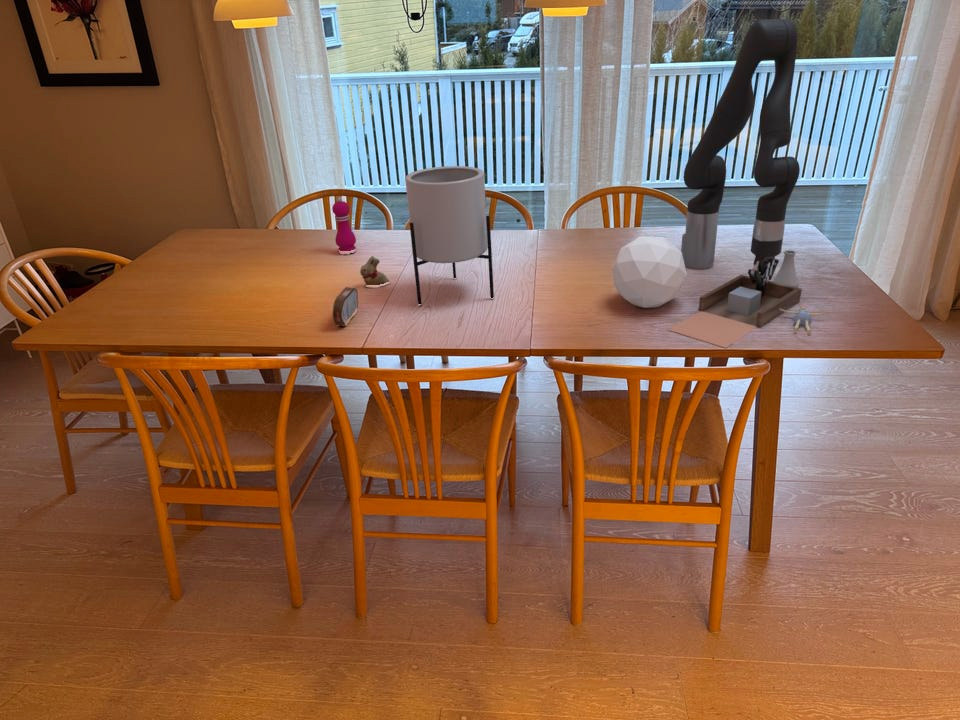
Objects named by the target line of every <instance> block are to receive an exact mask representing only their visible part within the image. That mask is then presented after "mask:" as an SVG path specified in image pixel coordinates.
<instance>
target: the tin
mask: <svg viewBox="0 0 960 720" xmlns="http://www.w3.org/2000/svg"><path fill="white" fill-rule="evenodd" d="M358 296H359V295H358V290H357V288H355V287H349V286H345V287H344V288H343V289H342V291H340V293H338V295H337V296H336V298H335V300H334V303H333V307H332V319H333V322H334V326H336V325H345V323H346V321H347V320H348V319H349V318H350V317H351V316H352V314H353V313H354V312H355V310H356V309H357V308H358V309H359V297H358Z"/></svg>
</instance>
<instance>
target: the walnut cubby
mask: <svg viewBox="0 0 960 720" xmlns="http://www.w3.org/2000/svg"><path fill="white" fill-rule="evenodd" d="M739 287H745V288H749V289H753V290H755V288H756V284H752V282H751V280H750V277H749V275H743V274H740V275H738V276H736V277H733V279H731V280H729V281H727V282H724V283H723V284H721V285H719V286H718V287H716V288H714V289H712V290H710V291H708V292H707V293H705V294H703V295H701V296H699V303H698V311H699V312H700V311H703V312H707V313H710V314H714V315H717V316H721V317H724V318H728V319H732V320H735V321H739V322H742V323H746V324H749V325H753V326H756V327H757V328H762V327H764V326H766V325H767V324H769V323H770V322H771V321H773V320H775V319H776V318H777V317H779V316H781V315H782V314H784V313H785V312H784V311H780V310H779V309H781V308H782V309H783V310H785V311H789V309H791V308H792V307H794V306H796V305H797V304H799V303H800V301H801V295H802V290H803V289H802V288H801V287H793V286H788V285H784V284H780V283H775V282H773V281H771V280H768V283H767V284H766V291H765V296H764V297H762V298H761V300H760V308H759V310H757V311H756V312H754V313H752V314H751V315H749V316H745V315H742V314H738V313H734V312H731V311H727V305H728V297H729V293H730V292H732V291H733V290H735V289H737V288H739ZM778 308H779V309H778Z"/></svg>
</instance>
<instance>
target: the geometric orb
mask: <svg viewBox="0 0 960 720" xmlns="http://www.w3.org/2000/svg"><path fill="white" fill-rule="evenodd" d="M686 269H687V267H686V266H685V264H684V260H683V256H682V252H681V249H679V248H677V247H676V246H675V245H673V244H672V243H671V242H670V241H669V240H667V239H666V238H665V237H663V236H659V237H658V236H644V235H642V236H641V235H640V236H638V237H637V238H635V239H633V240H632V241H631V242H629V243H627V244H626V245H624V246H622V247H621V248H620V250H619V251H618V254H617V256H616V259H615V262H614V264H613V266H612V278H613V279H612V280H613V284H614V287H615V289H616V290H617V292H618V293H619V294H620V295H621V296H622V297H623V298H624V300H626V301H627V302H629V303H630V304H632V305H634V306H636V307H640V308H646V309H647V308H650V309H651V308H659V307H661V306H662V305H665V304H666V303H667V302H669V301H672V300H673V299H675V298H676V297H678V296H679V293H680V291H681V289H682V286H683V285H684V283H685V280H686V279H687V278H686V277H687V276H688V273H687V270H686Z"/></svg>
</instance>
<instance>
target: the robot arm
mask: <svg viewBox="0 0 960 720" xmlns="http://www.w3.org/2000/svg"><path fill="white" fill-rule="evenodd" d="M798 36H799V35H798V28H797V26H796V23H795V22H794V21H793V20H791V19H787V18H785V19H784V18H780V19H779V18H776V19H773V18H772V19H759V20H756V21H755V22H753V23H752V24H751V26H750V27H749V28H748V29H747V32H746V34H745V37H744V38H743V42H742V44H741V47H740V50H739V53H738V56H737V58H736V60H735V64H734V66H733V70H732V71H731V74H730V76H729V79H728V80H727V83H726V84H725V85H726V86H725V89H724V91H723V93H722V95H721V97H720V98H719V100H718V102H717V104H716V106H715V108H714V111H713V112H712V115H711V118H710V120H709V122H708V124H707V126H706V129H705V130H704V132H703V134H702V136H701V138H700V140H699V142H698V144H697V145H696V147H695V148H694V151H693V152H692V153H691V155H690V157H689V158H688V160H687V163H686V164H685V167H684V171H683V182H684V185H685V187H687V188H688V189H689V190H693V191H694V190H696V191H698V190H701V191H700V192H699V193H698V194H696V196H694V197H693V198H691V199H689V200H688V201H687V209H686V221H685V233H682V237H681V245H680V247H681V249H680V251H681V252H682V256H683V260H684V264H685V268H688V269H691V270H692V269H693V270H705V269H706V270H707V269H710V268H712V267H714V264H715V263H714V262H715V255H716V254H715V253H716V245H717V233H718V224H719V215H720V206H721V204H722V201H723V198H724V192H725V187H726V186H725V185H726V179H727V166H726V165H727V164H726V161H725V160H724V158H723V156H720V155H718V154H719V153H720V152H721V151H722V150H723V149H724V148H725V147H726V146H728V145H729V144H730V143H732V141H734V140H735V139H736V137H738V136H739V134H741V132H743V130H744V128H745V127H746V125H747V124H748V121H749V119H750V117H751V115H752V114H753V112H754V108H755V103H756V102H755V95H754V93H755V92H754V88H753V83H752V81H753V78H754V76H755V75H754V74H755V72H756V70H757V68H758V66H759V64H760V63H761V62H765V61H766V62H768V61H769V62H772V61H773V62H774V78H773V81H772V84H771V87H770V88H769V91H768V93H767V95H766V97H765V99H764V101H763V104H762V106H761V109H760V111H759V112H760V113H759V114H760V115H759V136H760V137H759V138H760V141H759V147H758V152H757V157H756V161H755V164H754V169H753V179H754V181H755V183H756V184H757V185H758V186H759V187H762V188H771V187H774V189H773V190H772V191H771V192H769V193H767V194H766V193H765V194H764V195H761V196H760V197H759V198H758V201H757V205H756V213H755V220H754V224H753V229H752V235H751V244H750V253H752V254H753V255H754V260H753V267H752V268H750V269H748V270H747V274H748V276H749V277H750V280H751V282H752V284H756V288H755V290H757V291H761V292H762V293H761V298H762V297H764V296H765V291H766V284H767V283H768V281H771V279H772V278H773V276H774V273H775V271H776V269H777V267H778V264H779V261H780V259H778V258H776V256H779V255H780V254H782V253H781V252H782V248H783V241H784V234H785V228H786V227H785V220H786V213H787V208H788V203H789V200H790V197H791V196H792V193H793V191H794V188H795V187H796V184H797V182H798V180H799V177H800V176H799V175H800V169H801V168H800V164H799V161H798V160H797V159H796V157H794V156H790V155H789V156H779V157H774V154H775V152H776V150H777V149H779V148H783V147H785V146H787V145H789V144H790V142H791V140H792V134H791V133H792V132H791V131H792V129H791V125H792V124H791V98H792V90H793V89H792V88H793V82H794V77H795V76H794V74H795V67H796V59H797V58H796V57H797V53H798V52H797V49H798V41H799V40H798V38H799V37H798Z"/></svg>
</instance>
